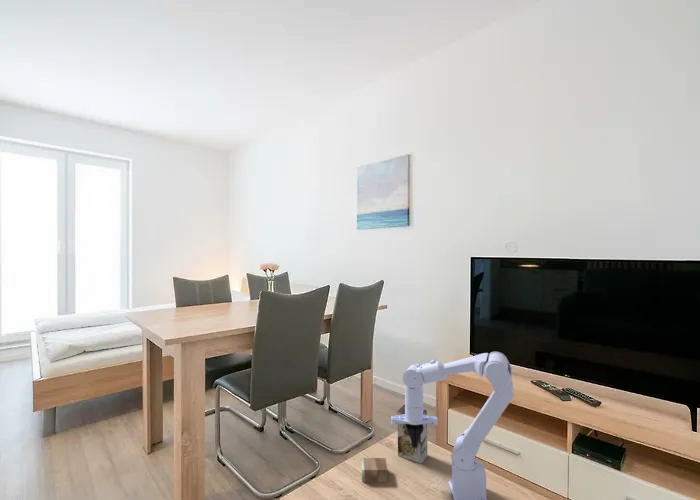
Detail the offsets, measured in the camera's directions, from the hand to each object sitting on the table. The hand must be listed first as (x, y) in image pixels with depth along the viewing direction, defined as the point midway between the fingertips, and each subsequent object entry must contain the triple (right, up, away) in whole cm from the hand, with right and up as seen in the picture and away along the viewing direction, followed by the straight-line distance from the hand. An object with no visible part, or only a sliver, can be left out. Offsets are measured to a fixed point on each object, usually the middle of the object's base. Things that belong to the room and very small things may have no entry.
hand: (414, 445), depth 110 cm
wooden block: (-9, -9, +1) cm, 12 cm away
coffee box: (+2, -10, +12) cm, 16 cm away
